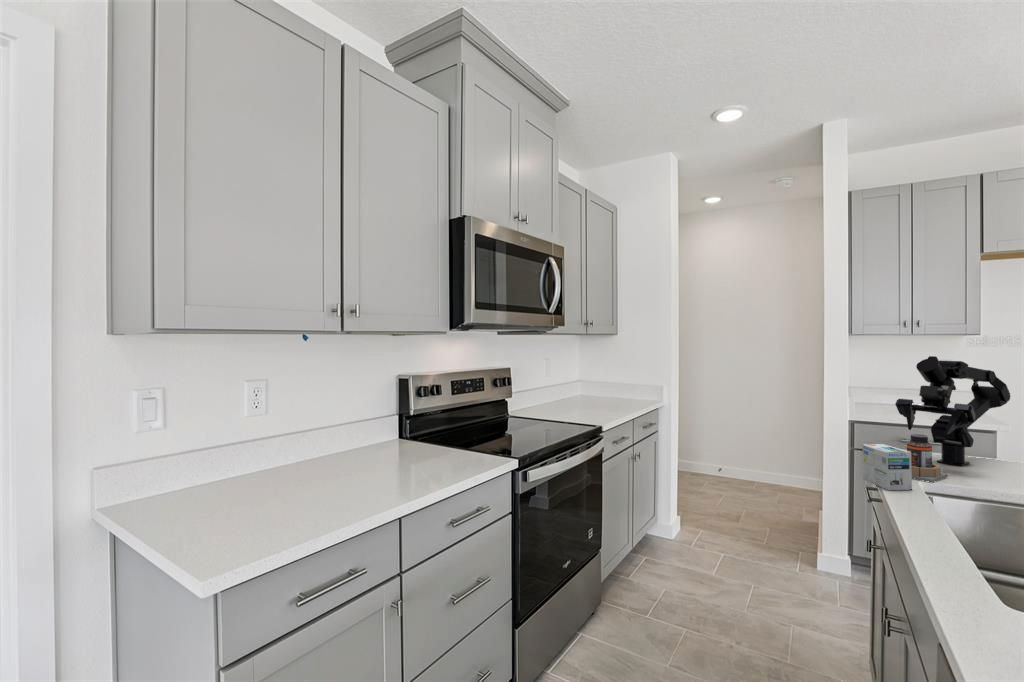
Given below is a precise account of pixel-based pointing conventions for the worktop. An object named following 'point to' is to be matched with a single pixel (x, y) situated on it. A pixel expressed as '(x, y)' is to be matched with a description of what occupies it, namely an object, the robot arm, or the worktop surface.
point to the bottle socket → (928, 473)
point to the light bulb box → (887, 466)
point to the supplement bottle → (920, 451)
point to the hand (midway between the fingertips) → (927, 431)
